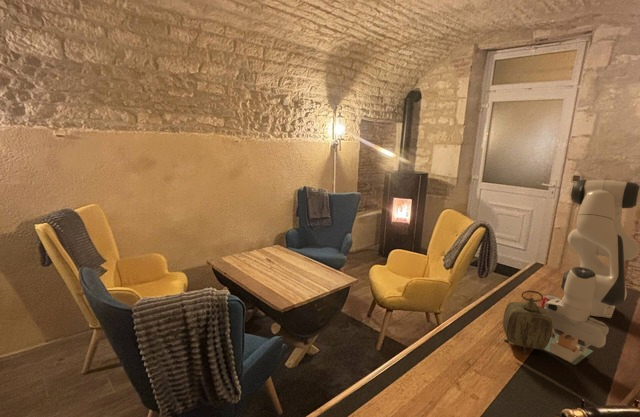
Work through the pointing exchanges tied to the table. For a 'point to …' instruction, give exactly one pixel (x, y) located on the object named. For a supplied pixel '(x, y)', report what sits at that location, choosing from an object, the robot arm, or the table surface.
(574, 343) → the plug
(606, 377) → the table surface
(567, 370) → the table surface
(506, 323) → the tabletop clock
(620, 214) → the robot arm
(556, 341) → the board
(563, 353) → the frame
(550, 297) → the soda can
